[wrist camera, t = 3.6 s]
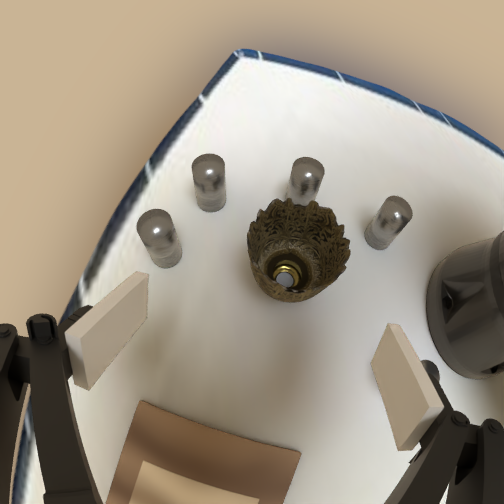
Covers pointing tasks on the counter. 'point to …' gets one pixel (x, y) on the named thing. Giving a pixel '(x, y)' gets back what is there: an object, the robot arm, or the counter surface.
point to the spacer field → (299, 189)
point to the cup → (296, 249)
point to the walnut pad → (196, 464)
